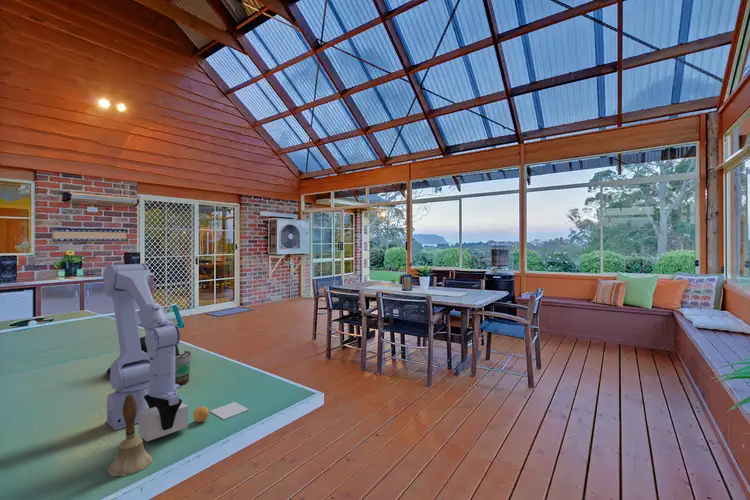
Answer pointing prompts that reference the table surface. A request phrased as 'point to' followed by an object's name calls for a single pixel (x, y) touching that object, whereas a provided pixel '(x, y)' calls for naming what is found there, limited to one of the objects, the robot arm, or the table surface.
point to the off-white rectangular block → (152, 422)
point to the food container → (182, 368)
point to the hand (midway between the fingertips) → (162, 424)
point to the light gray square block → (229, 410)
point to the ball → (200, 414)
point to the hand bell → (130, 445)
